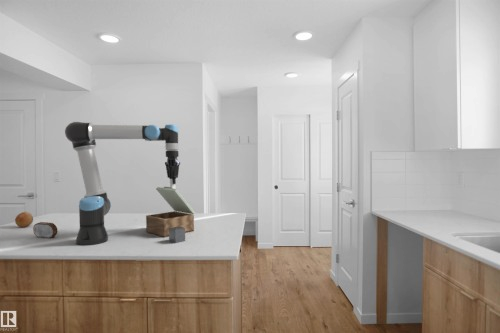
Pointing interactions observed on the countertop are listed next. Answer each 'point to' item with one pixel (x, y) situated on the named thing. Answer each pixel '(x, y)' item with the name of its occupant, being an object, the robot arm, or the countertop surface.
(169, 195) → the lid
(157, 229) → the storage box
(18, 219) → the onion
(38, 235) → the tin
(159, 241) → the countertop surface
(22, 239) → the countertop surface
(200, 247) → the countertop surface
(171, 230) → the block
